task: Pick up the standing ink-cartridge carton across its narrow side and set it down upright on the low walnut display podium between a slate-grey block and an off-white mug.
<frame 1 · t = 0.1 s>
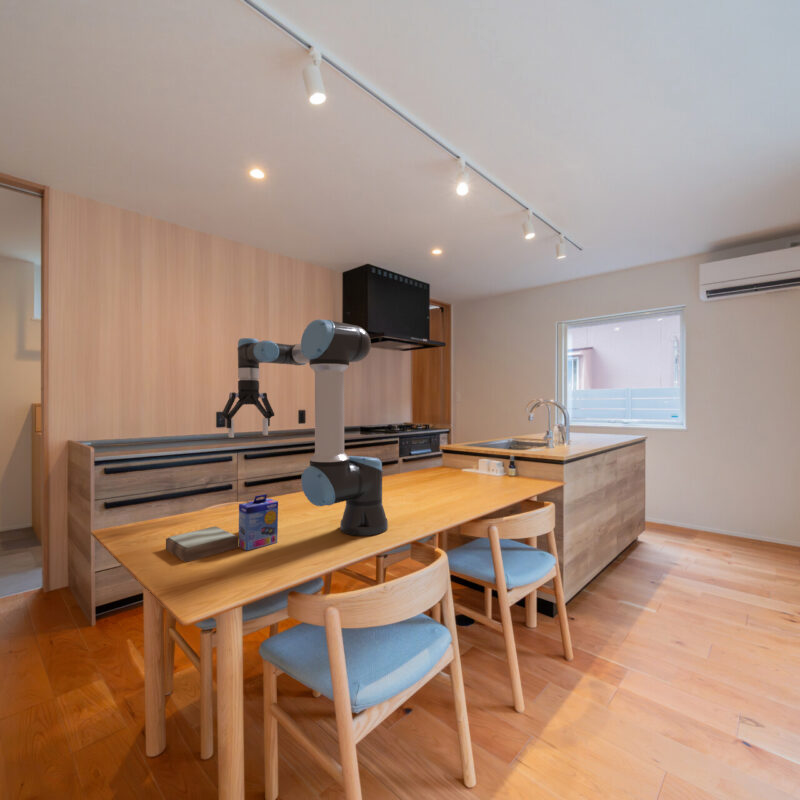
hand: (248, 436, 154), 28 cm above the table, fingers open, 13 cm apart
podium: (202, 548, 114), on the table
slate block: (250, 532, 128), on the table
ink cartridge box: (258, 545, 117), on the table
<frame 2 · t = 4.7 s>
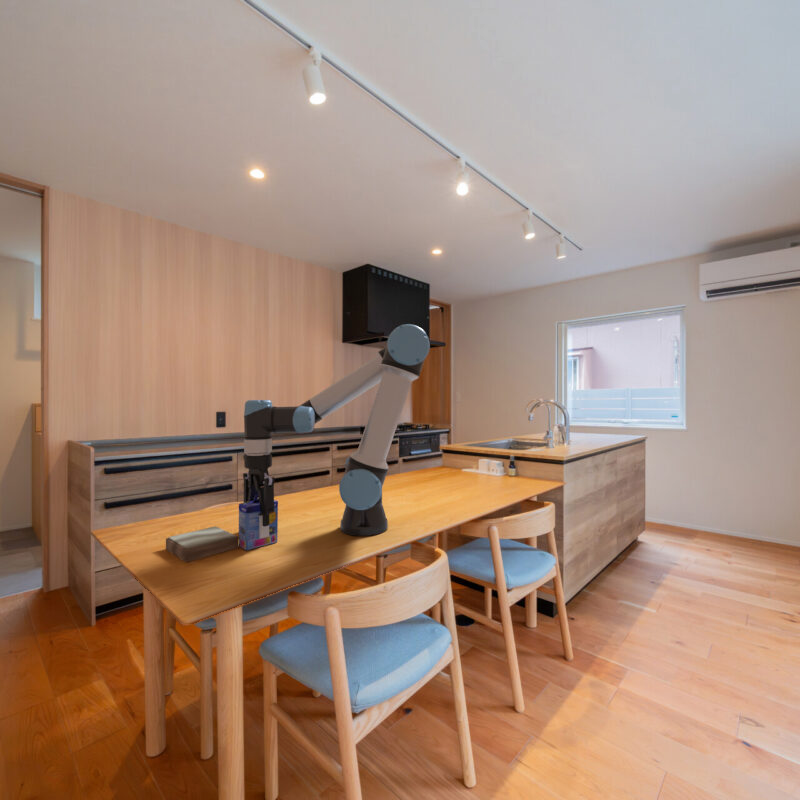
hand: (258, 534, 117), 3 cm above the table, fingers closed on ink cartridge box, 5 cm apart
ink cartridge box: (258, 545, 117), on the table, touching gripper
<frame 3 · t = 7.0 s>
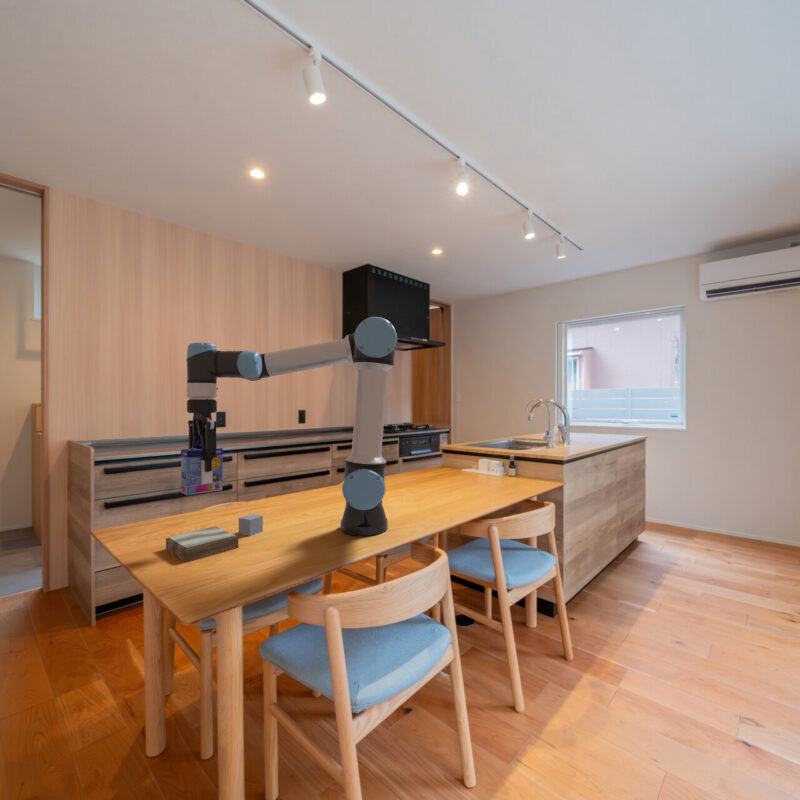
hand: (202, 481, 114), 19 cm above the table, fingers closed on ink cartridge box, 5 cm apart
ink cartridge box: (202, 492, 114), point 16 cm above the table, touching gripper
when the fingers open (8 cm above the table, at t = 9.2 s): ink cartridge box drops 2 cm, resting on podium.
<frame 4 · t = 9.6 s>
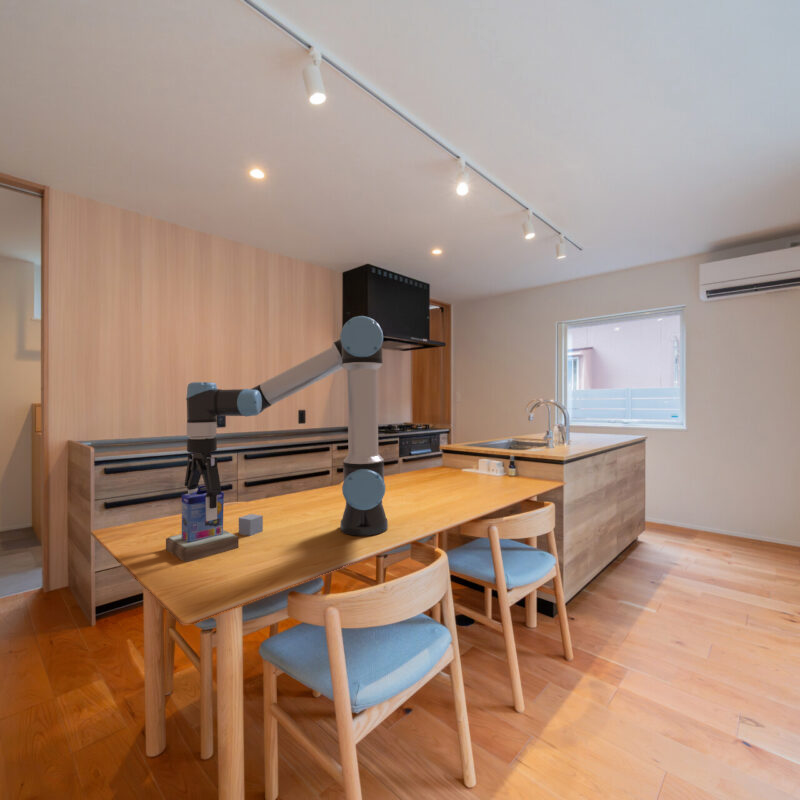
hand: (202, 515, 114), 9 cm above the table, fingers open, 11 cm apart
ink cartridge box: (202, 537, 114), point 3 cm above the table, touching podium
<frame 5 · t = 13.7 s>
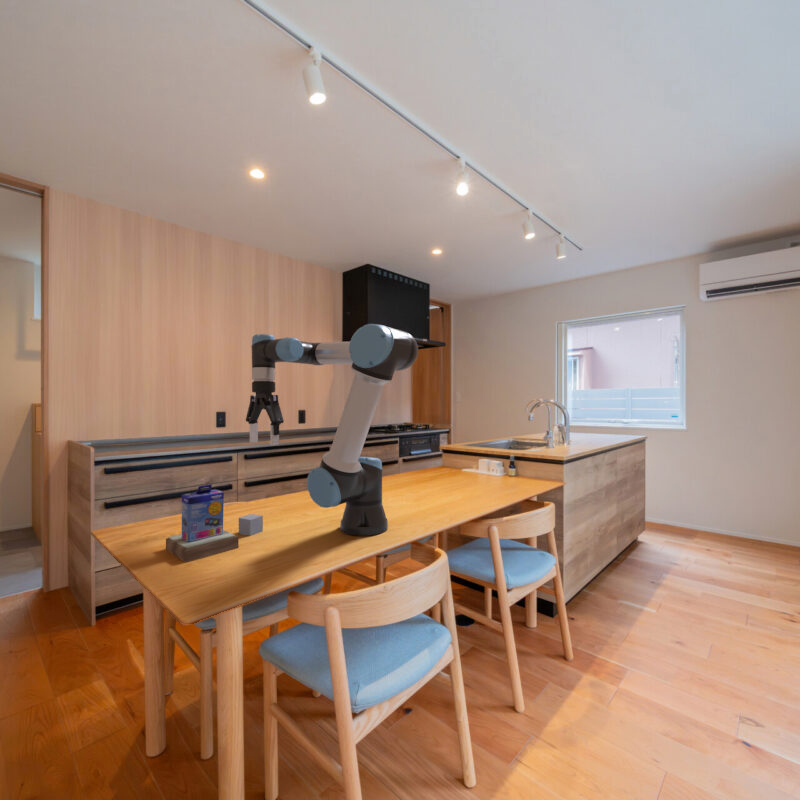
hand: (263, 443, 138), 27 cm above the table, fingers open, 13 cm apart
at the end: ink cartridge box inside the target area on the podium (0.3 cm from its centre), point 3.2 cm above the podium's base; ink cartridge box tilted 0°; the gripper is holding nothing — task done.
